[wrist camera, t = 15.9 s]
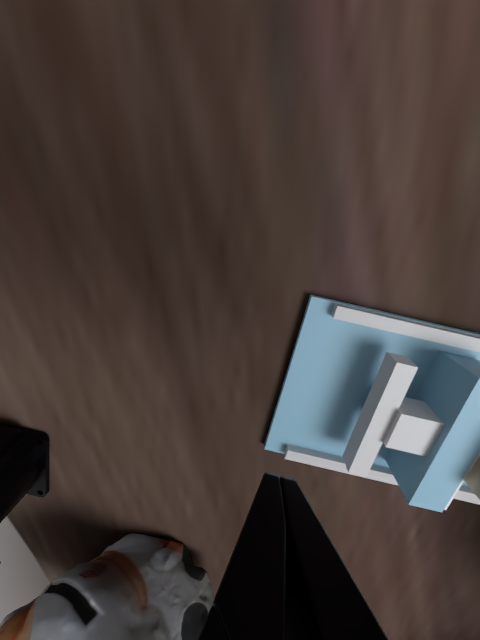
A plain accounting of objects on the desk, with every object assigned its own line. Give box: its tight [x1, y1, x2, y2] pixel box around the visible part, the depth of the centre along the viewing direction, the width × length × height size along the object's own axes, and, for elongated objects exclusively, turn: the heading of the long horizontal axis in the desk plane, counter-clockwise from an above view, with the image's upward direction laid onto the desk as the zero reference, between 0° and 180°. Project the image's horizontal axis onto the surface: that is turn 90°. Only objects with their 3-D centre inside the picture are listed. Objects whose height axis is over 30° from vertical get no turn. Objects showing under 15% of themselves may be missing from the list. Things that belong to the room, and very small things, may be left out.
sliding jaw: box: [343, 350, 480, 512], centre depth 18 cm, size 9×6×4 cm
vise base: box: [264, 294, 480, 505], centre depth 18 cm, size 12×21×4 cm, turn 78°
